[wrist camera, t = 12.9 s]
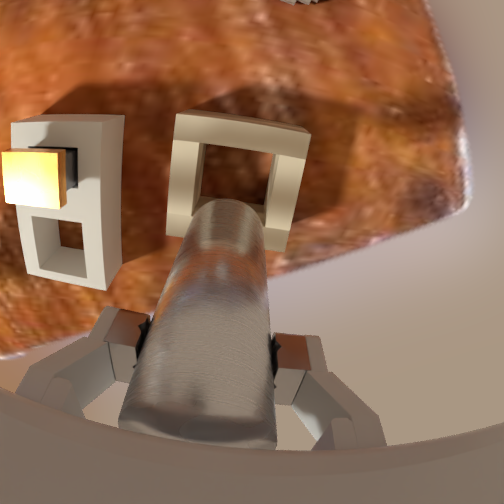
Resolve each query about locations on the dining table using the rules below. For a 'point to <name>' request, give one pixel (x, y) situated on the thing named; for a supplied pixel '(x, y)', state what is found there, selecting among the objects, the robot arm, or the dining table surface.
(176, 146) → the beige square holder
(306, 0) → the decorative ornament
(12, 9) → the dining table surface
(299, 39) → the dining table surface
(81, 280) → the socket block
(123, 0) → the dining table surface
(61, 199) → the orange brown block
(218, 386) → the grey metallic cylinder
